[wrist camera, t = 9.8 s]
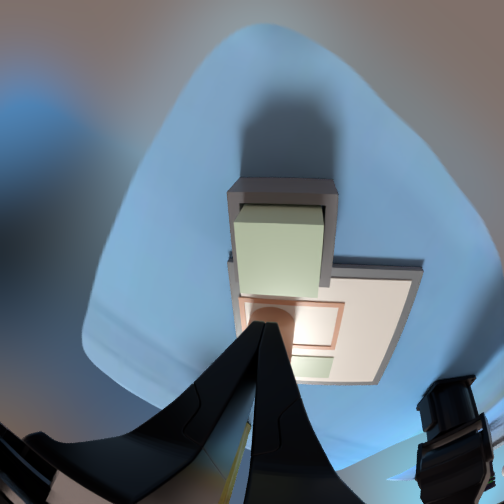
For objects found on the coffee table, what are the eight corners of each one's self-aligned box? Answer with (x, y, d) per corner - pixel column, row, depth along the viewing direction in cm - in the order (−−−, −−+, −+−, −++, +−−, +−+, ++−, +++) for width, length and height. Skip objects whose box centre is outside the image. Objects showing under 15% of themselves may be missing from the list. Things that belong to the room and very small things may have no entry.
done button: (320, 199, 15) (323, 225, 12) (316, 261, 17) (317, 298, 14) (248, 197, 15) (233, 222, 12) (252, 258, 17) (240, 293, 14)
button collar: (332, 179, 15) (338, 194, 13) (327, 260, 18) (329, 287, 15) (239, 177, 16) (226, 192, 14) (245, 256, 19) (235, 282, 17)
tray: (421, 267, 17) (424, 272, 16) (376, 380, 24) (377, 386, 23) (228, 258, 19) (226, 263, 19) (243, 374, 26) (242, 379, 26)
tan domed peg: (296, 308, 20) (288, 374, 15) (293, 340, 22) (286, 402, 16) (248, 305, 20) (228, 368, 15) (250, 337, 22) (234, 397, 17)
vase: (219, 409, 32) (190, 502, 20) (259, 424, 32) (238, 514, 20) (204, 420, 35) (177, 499, 23) (239, 433, 36) (219, 511, 23)
